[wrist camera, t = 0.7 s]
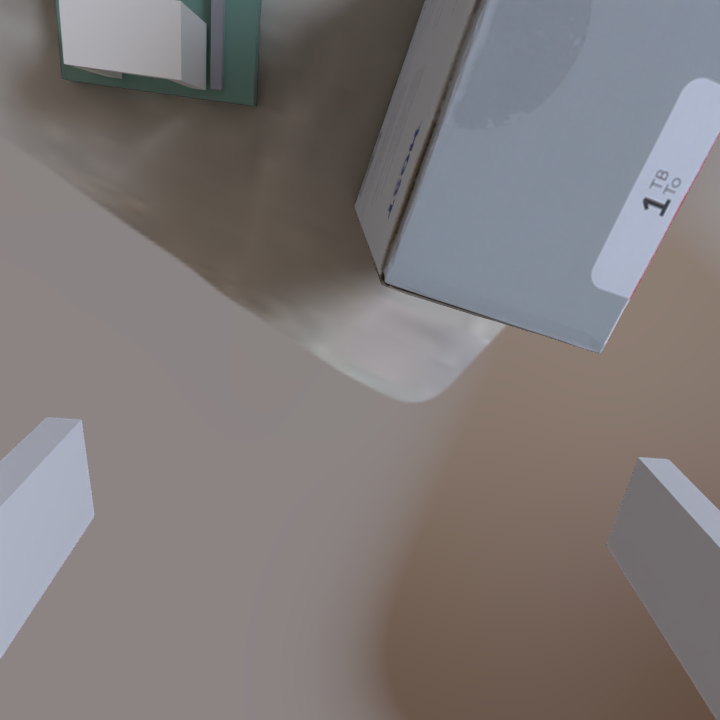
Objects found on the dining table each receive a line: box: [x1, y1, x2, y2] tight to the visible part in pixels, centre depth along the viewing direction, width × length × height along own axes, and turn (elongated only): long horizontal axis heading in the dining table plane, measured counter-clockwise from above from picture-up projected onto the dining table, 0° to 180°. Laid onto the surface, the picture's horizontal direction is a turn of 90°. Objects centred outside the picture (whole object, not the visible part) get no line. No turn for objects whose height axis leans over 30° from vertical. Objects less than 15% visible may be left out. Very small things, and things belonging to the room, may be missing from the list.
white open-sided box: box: [59, 0, 207, 90], centre depth 26 cm, size 3×5×5 cm, turn 83°
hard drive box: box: [354, 0, 720, 354], centre depth 22 cm, size 16×8×20 cm, turn 161°
